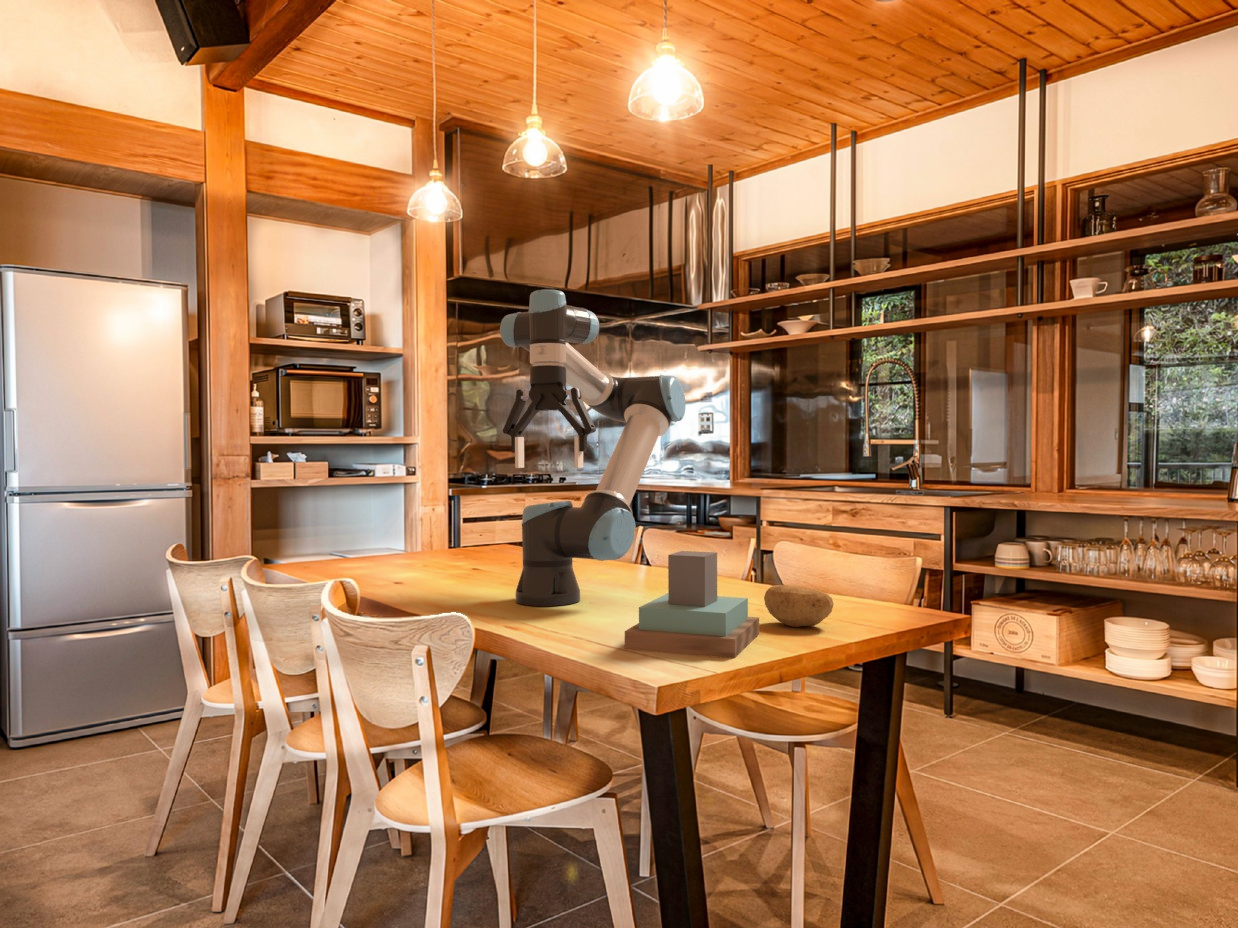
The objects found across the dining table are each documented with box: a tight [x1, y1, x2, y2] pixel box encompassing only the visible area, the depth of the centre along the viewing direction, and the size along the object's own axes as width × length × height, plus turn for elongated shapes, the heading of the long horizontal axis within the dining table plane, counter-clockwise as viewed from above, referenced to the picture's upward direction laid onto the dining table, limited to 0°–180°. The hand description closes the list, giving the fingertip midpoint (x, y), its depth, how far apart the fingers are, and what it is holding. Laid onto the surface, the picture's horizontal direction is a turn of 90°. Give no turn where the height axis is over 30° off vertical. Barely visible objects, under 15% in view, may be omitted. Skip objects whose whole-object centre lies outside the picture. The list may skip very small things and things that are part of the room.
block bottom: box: [624, 616, 760, 659], centre depth 161 cm, size 20×20×4 cm
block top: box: [638, 593, 749, 636], centre depth 161 cm, size 16×16×4 cm
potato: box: [763, 584, 834, 628], centre depth 174 cm, size 10×14×8 cm
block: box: [667, 550, 718, 607], centre depth 161 cm, size 7×7×9 cm
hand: (549, 468), depth 182 cm, fingers open, 13 cm apart
